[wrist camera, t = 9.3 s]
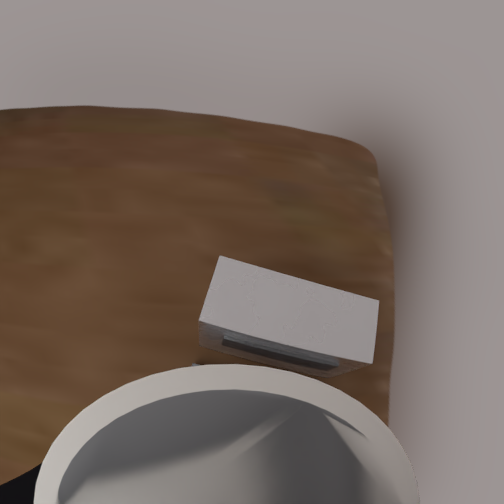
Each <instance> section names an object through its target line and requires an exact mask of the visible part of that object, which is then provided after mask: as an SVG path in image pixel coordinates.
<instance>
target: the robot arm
mask: <svg viewBox="0 0 504 504" xmlns="http://www.w3.org/2000/svg"><path fill="white" fill-rule="evenodd" d="M42 463H43V462H42ZM42 463H41V464H39V465H38V466H36V467H35V468H33V469H32V470H30V471H28V472H26V473H24V474H23V475H21V476H19V477H17V478H15V479H13V480H11V481H9V482H7V483H4V484H2V485H0V504H34V495H35V487H36V482H37V478H38V475H39V472H40V469H41V466H42Z"/></svg>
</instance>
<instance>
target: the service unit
mask: <svg viewBox="0 0 504 504" xmlns="http://www.w3.org/2000/svg"><path fill="white" fill-rule="evenodd" d="M378 308H379V301H378V300H375V299H371V298H367V297H364V296H360V295H357V294H353V293H349V292H346V291H342V290H339V289H335V288H332V287H328V286H325V285H321V284H317V283H314V282H310V281H307V280H303V279H300V278H296V277H293V276H289V275H286V274H282V273H279V272H275V271H272V270H268V269H265V268H261V267H258V266H254V265H251V264H247V263H244V262H241V261H237V260H234V259H230V258H227V257H223V256H219V259H218V262H217V265H216V269H215V272H214V275H213V278H212V281H211V284H210V287H209V290H208V293H207V296H206V299H205V302H204V306H203V309H202V312H201V315H200V318H199V346H201V347H204V348H208V349H211V350H215V351H218V352H222V353H225V354H229V355H232V356H236V357H240V358H243V359H247V360H251V361H255V362H259V363H262V364H266V365H271V366H275V367H279V368H283V369H287V370H292V371H296V372H300V373H305V374H310V375H314V376H319V377H324V378H331V377H334V376H338V375H341V374H344V373H347V372H350V371H353V370H356V369H359V368H362V367H365V366H368V365H371V364H372V363H373V356H374V347H375V339H376V329H377V319H378Z"/></svg>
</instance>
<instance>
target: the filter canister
mask: <svg viewBox="0 0 504 504" xmlns="http://www.w3.org/2000/svg"><path fill="white" fill-rule="evenodd" d="M34 504H420V498H419V492H418V485H417V480H416V477H415V474H414V471H413V467H412V465H411V463H410V461H409V459H408V456H407V454H406V453H405V450H404V449H403V447H402V445H401V444H400V443H399V441H398V440H397V438H396V437H395V436H394V434H393V433H392V431H391V430H390V429H389V428H388V427H387V426H386V425H385V424H384V423H383V422H382V421H381V420H380V418H379V417H378V416H377V415H375V414H374V413H373V412H372V411H370V410H369V409H368V408H366V407H365V406H364V405H363V404H361V403H360V402H359V401H357V400H355V399H354V398H352V397H350V396H349V395H347V394H345V393H344V392H342V391H340V390H339V389H336V388H334V387H332V386H330V385H327V384H325V383H323V382H321V381H318V380H316V379H313V378H310V377H306V376H303V375H300V374H297V373H294V372H290V371H285V370H279V369H274V368H269V367H264V366H252V365H241V364H217V365H201V366H193V367H185V368H178V369H174V370H170V371H166V372H161V373H157V374H153V375H150V376H147V377H144V378H142V379H139V380H136V381H133V382H131V383H128V384H125V385H124V386H122V387H120V388H118V389H116V390H114V391H112V392H110V393H108V394H106V395H104V396H102V397H101V398H100V399H98V400H97V401H95V402H94V403H92V404H91V405H89V406H88V407H87V408H85V409H84V410H82V411H81V412H80V413H79V414H78V415H77V416H76V417H75V418H74V419H73V420H72V421H71V422H70V423H69V424H68V425H67V426H66V427H65V428H64V429H63V431H62V432H61V433H60V434H59V436H58V437H57V438H56V440H55V441H54V442H53V444H52V445H51V447H50V449H49V451H48V453H47V455H46V457H45V459H44V461H43V463H42V466H41V469H40V472H39V475H38V478H37V482H36V487H35V495H34Z"/></svg>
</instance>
